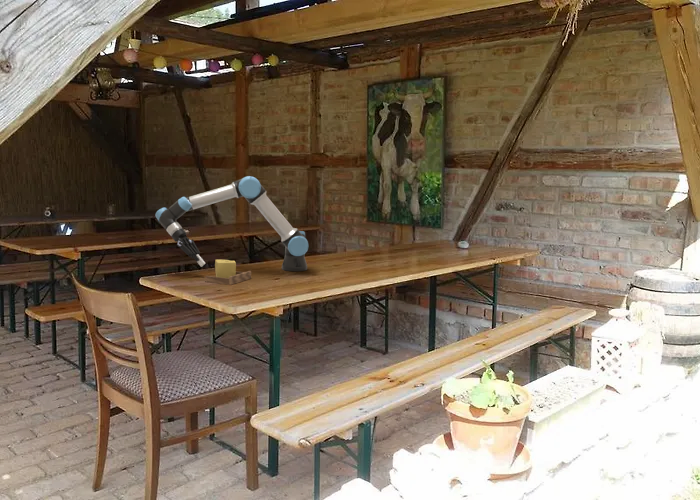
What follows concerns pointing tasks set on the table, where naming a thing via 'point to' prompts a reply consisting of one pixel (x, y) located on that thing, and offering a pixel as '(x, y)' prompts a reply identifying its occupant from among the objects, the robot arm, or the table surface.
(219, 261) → the cheese
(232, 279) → the brown wooden u frame
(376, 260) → the table surface
